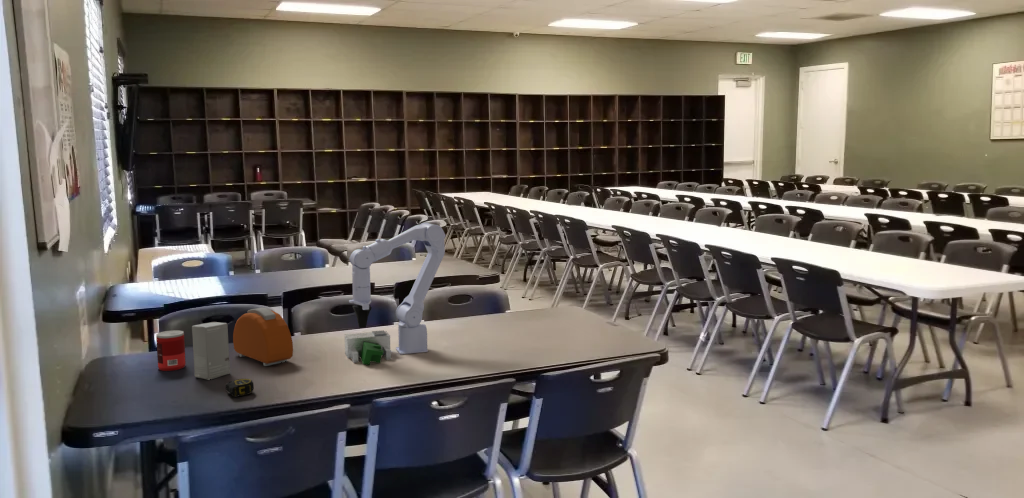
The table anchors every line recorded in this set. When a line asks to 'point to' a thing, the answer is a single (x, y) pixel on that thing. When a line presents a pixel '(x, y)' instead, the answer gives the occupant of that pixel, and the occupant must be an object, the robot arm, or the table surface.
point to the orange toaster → (263, 337)
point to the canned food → (170, 350)
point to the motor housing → (356, 341)
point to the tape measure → (240, 387)
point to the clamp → (371, 353)
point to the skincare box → (210, 350)
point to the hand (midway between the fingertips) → (362, 327)
